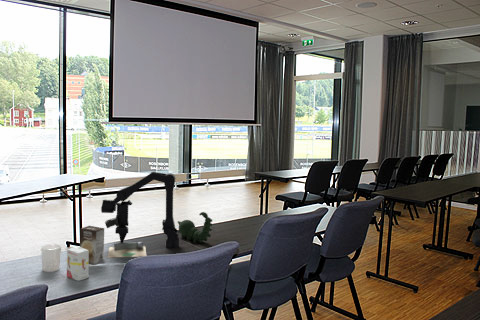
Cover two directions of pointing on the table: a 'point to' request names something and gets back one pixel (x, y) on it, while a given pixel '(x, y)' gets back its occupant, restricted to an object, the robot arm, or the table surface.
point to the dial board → (126, 252)
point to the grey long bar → (129, 245)
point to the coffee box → (93, 243)
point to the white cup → (51, 257)
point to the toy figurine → (195, 229)
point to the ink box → (77, 263)
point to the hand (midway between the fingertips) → (121, 242)
